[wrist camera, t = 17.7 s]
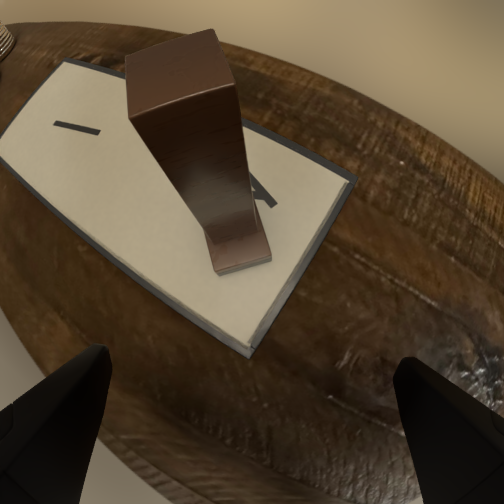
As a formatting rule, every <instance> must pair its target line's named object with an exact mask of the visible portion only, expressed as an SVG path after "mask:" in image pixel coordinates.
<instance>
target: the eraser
mask: <svg viewBox="0 0 504 504" xmlns="http://www.w3.org/2000/svg"><path fill="white" fill-rule="evenodd" d="M125 77H126V96H127V110H128V119H129V121H130V122H131V124H132V125H133V127H134V128H135V130H136V131H137V133H138V134H139V136H140V137H141V139H142V140H143V142H144V143H145V145H146V146H147V148H148V149H149V151H150V152H151V154H152V155H153V157H154V158H155V160H156V161H157V163H158V164H159V166H160V167H161V169H162V170H163V172H164V173H165V175H166V176H167V178H168V179H169V181H170V182H171V184H172V185H173V186H174V188H175V189H176V191H177V192H178V194H179V195H180V197H181V198H182V200H183V201H184V203H185V204H186V205H187V207H188V208H189V210H190V211H191V213H192V214H193V216H194V217H195V218H196V220H197V221H198V223H199V224H200V226H201V227H202V228H203V231H204V235H205V239H206V243H207V247H208V250H209V254H210V258H211V262H212V266H213V269H214V272H215V273H216V274H217V275H218V276H222V275H226V274H229V273H233V272H236V271H239V270H243V269H246V268H250V267H253V266H256V265H260V264H263V263H267V262H270V261H272V253H271V250H270V246H269V243H268V240H267V237H266V234H265V230H264V227H263V224H262V221H261V218H260V215H259V211H258V208H257V205H256V202H255V199H254V196H253V193H252V187H251V180H250V173H249V166H248V159H247V153H246V146H245V139H244V132H243V126H242V119H241V112H240V106H239V99H238V92H237V86H236V82H235V80H234V77H233V75H232V72H231V70H230V67H229V65H228V62H227V60H226V57H225V55H224V52H223V50H222V48H221V45H220V43H219V40H218V38H217V36H216V34H215V31H214V30H213V29H207V30H204V31H200V32H196V33H193V34H189V35H186V36H182V37H179V38H176V39H173V40H169V41H166V42H163V43H160V44H157V45H155V46H152V47H149V48H146V49H144V50H141V51H138V52H136V53H133V54H130V55H128V56H126V57H125Z"/></svg>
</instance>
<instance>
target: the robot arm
mask: <svg viewBox="0 0 504 504" xmlns="http://www.w3.org/2000/svg"><path fill="white" fill-rule="evenodd" d="M111 375H112V362H111V358H110V354H109V349H108V347H107V346H106V345H103V344H97V343H94V344H92V345H91V346H89V347H88V348H86V349H85V350H84V351H82V352H81V353H80V354H78V355H77V356H75V357H74V358H73V359H71V360H70V361H68V362H67V363H66V364H64V365H63V366H61V367H60V368H59V369H57V370H56V371H55V372H53V373H52V374H50V375H49V376H48V377H46V378H45V379H44V380H42V381H41V382H40V383H38V384H37V385H35V386H34V387H33V388H31V389H30V390H29V391H27V392H26V393H25V394H23V395H22V396H20V397H19V398H18V399H16V400H15V401H14V402H13V404H10V405H8V406H7V407H6V408H4V409H3V410H2V411H0V504H79V502H80V497H81V493H82V489H83V485H84V481H85V477H86V473H87V470H88V466H89V462H90V459H91V455H92V452H93V448H94V444H95V441H96V438H97V435H98V431H99V428H100V425H101V422H102V418H103V414H104V410H105V405H106V399H107V394H108V389H109V385H110V380H111ZM393 385H394V389H395V394H396V399H397V403H398V408H399V413H400V418H401V422H402V425H403V429H404V432H405V435H406V439H407V442H408V446H409V449H410V452H411V456H412V460H413V463H414V467H415V471H416V474H417V478H418V482H419V486H420V490H421V494H422V498H423V503H424V504H504V418H503V417H501V416H500V415H498V414H497V413H495V412H494V411H492V410H490V409H489V408H488V407H487V406H485V405H484V404H482V403H481V402H479V401H478V400H476V399H475V398H474V397H472V396H471V395H469V394H468V393H466V392H465V391H463V390H462V389H461V388H459V387H458V386H456V385H455V384H453V383H452V382H450V381H449V380H448V379H446V378H445V377H443V376H442V375H440V374H439V373H437V372H436V371H434V370H433V369H432V368H430V367H429V366H427V365H426V364H424V363H423V362H421V361H420V360H418V359H417V358H415V357H405V358H403V359H402V360H401V362H400V364H399V366H398V368H397V370H396V372H395V373H394V376H393Z"/></svg>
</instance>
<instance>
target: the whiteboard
mask: <svg viewBox="0 0 504 504" xmlns="http://www.w3.org/2000/svg"><path fill="white" fill-rule="evenodd" d="M241 119H242V126H243V132H244V139H245V146H246V153H247V159H248V166H249V173H250V180H251V187H252V193H253V196H254V199H255V202H256V205H257V208H258V211H259V215H260V218H261V221H262V224H263V227H264V230H265V234H266V237H267V240H268V243H269V246H270V250H271V253H272V261H270V262H267V263H263V264H260V265H256V266H253V267H250V268H246V269H243V270H239V271H236V272H233V273H229V274H226V275H222V276H218V275H217V274H216V273H215V272H214V269H213V266H212V262H211V258H210V254H209V250H208V247H207V243H206V239H205V235H204V231H203V228H202V227H201V226H200V224H199V223H198V221H197V220H196V218H195V217H194V216H193V214H192V213H191V211H190V210H189V208H188V207H187V205H186V204H185V203H184V201H183V200H182V198H181V197H180V195H179V194H178V192H177V191H176V189H175V188H174V186H173V185H172V184H171V182H170V181H169V179H168V178H167V176H166V175H165V173H164V172H163V170H162V169H161V167H160V166H159V164H158V163H157V161H156V160H155V158H154V157H153V155H152V154H151V152H150V151H149V149H148V148H147V146H146V145H145V143H144V142H143V140H142V139H141V137H140V136H139V134H138V133H137V131H136V130H135V128H134V127H133V125H132V124H131V122H130V121H129V119H128V110H127V96H126V77H125V73H122V72H119V71H115V70H112V69H109V68H105V67H102V66H98V65H94V64H91V63H87V62H83V61H79V60H75V59H71V58H67V57H65V58H64V59H63V60H62V61H61V62H60V63H59V64H58V65H57V66H56V68H55V69H54V70H53V71H52V72H51V73H50V74H49V75H48V76H47V77H46V78H45V79H44V80H43V82H42V83H41V84H40V85H39V86H38V87H37V88H36V90H35V91H34V92H33V93H32V94H31V95H30V97H29V98H28V99H27V100H26V102H25V103H24V104H23V105H22V107H21V108H20V109H19V110H18V112H17V113H16V114H15V116H14V117H13V118H12V120H11V121H10V122H9V124H8V125H7V126H6V128H5V129H4V131H3V132H2V133H1V135H0V162H1V163H2V164H3V165H4V166H5V167H6V168H7V169H8V170H9V171H10V172H11V173H12V174H13V175H14V176H15V177H16V178H17V179H18V180H19V181H20V182H21V183H22V184H23V185H24V186H25V187H26V188H27V189H28V190H29V191H30V192H31V193H32V194H33V195H34V196H35V197H36V198H38V199H39V200H40V201H41V202H42V203H43V204H44V205H45V206H46V207H47V208H48V209H49V210H51V211H52V212H53V213H54V214H55V215H56V216H57V217H58V218H59V219H61V220H62V221H63V222H64V223H65V224H66V225H67V226H69V227H70V228H71V229H72V230H73V231H74V232H75V233H77V234H78V235H79V236H80V237H81V238H82V239H84V240H85V241H86V242H87V243H88V244H90V245H91V246H92V247H93V248H94V249H96V250H97V251H98V252H99V253H100V254H102V255H103V256H104V257H105V258H107V259H108V260H109V261H110V262H112V263H113V264H114V265H115V266H117V267H118V268H119V269H120V270H122V271H123V272H124V273H126V274H127V275H128V276H129V277H131V278H132V279H133V280H135V281H136V282H137V283H139V284H140V285H141V286H142V287H144V288H145V289H146V290H148V291H149V292H150V293H152V294H153V295H155V296H156V297H157V298H159V299H160V300H161V301H163V302H164V303H165V304H167V305H168V306H170V307H171V308H172V309H174V310H175V311H177V312H178V313H179V314H181V315H182V316H184V317H185V318H187V319H188V320H189V321H191V322H192V323H194V324H195V325H197V326H198V327H200V328H201V329H203V330H204V331H205V332H207V333H208V334H210V335H211V336H213V337H214V338H216V339H217V340H219V341H220V342H222V343H224V344H225V345H227V346H228V347H230V348H231V349H233V350H234V351H236V352H237V353H239V354H241V355H242V356H244V357H245V358H247V359H250V358H251V356H252V355H253V353H254V352H255V350H256V349H257V347H258V346H259V344H260V343H261V341H262V339H263V338H264V336H265V335H266V333H267V332H268V330H269V329H270V327H271V325H272V324H273V322H274V321H275V319H276V318H277V316H278V314H279V313H280V311H281V310H282V308H283V306H284V305H285V303H286V302H287V300H288V298H289V297H290V295H291V294H292V292H293V290H294V289H295V287H296V285H297V284H298V282H299V280H300V279H301V277H302V275H303V274H304V272H305V270H306V269H307V267H308V265H309V264H310V262H311V260H312V259H313V257H314V255H315V254H316V252H317V250H318V249H319V247H320V245H321V243H322V242H323V240H324V238H325V237H326V235H327V233H328V231H329V230H330V228H331V226H332V224H333V223H334V221H335V219H336V217H337V216H338V214H339V212H340V210H341V208H342V207H343V205H344V203H345V201H346V199H347V198H348V196H349V194H350V192H351V190H352V189H353V187H354V185H355V183H356V181H357V179H358V177H357V176H355V175H354V174H352V173H350V172H348V171H347V170H345V169H343V168H341V167H340V166H338V165H336V164H334V163H332V162H331V161H329V160H327V159H325V158H323V157H321V156H320V155H318V154H316V153H314V152H312V151H310V150H308V149H306V148H304V147H303V146H301V145H299V144H297V143H295V142H293V141H291V140H289V139H287V138H285V137H283V136H281V135H279V134H277V133H274V132H272V131H270V130H268V129H266V128H264V127H262V126H260V125H258V124H255V123H253V122H251V121H249V120H247V119H244V118H242V117H241Z"/></svg>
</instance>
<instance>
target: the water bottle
mask: <svg viewBox="0 0 504 504" xmlns="http://www.w3.org/2000/svg"><path fill="white" fill-rule="evenodd" d="M14 45H15V40H14V38H13V36H12V35H11V34H10V32H9V31H8V30H7V29H6V27H5V26H4V24H3V23H2V22H1V20H0V62H1V61H2V60H3V59H4V58H5V57H6V56H7V55H8V54H9V52H10V51H11V50H12V49H13V47H14Z"/></svg>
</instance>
